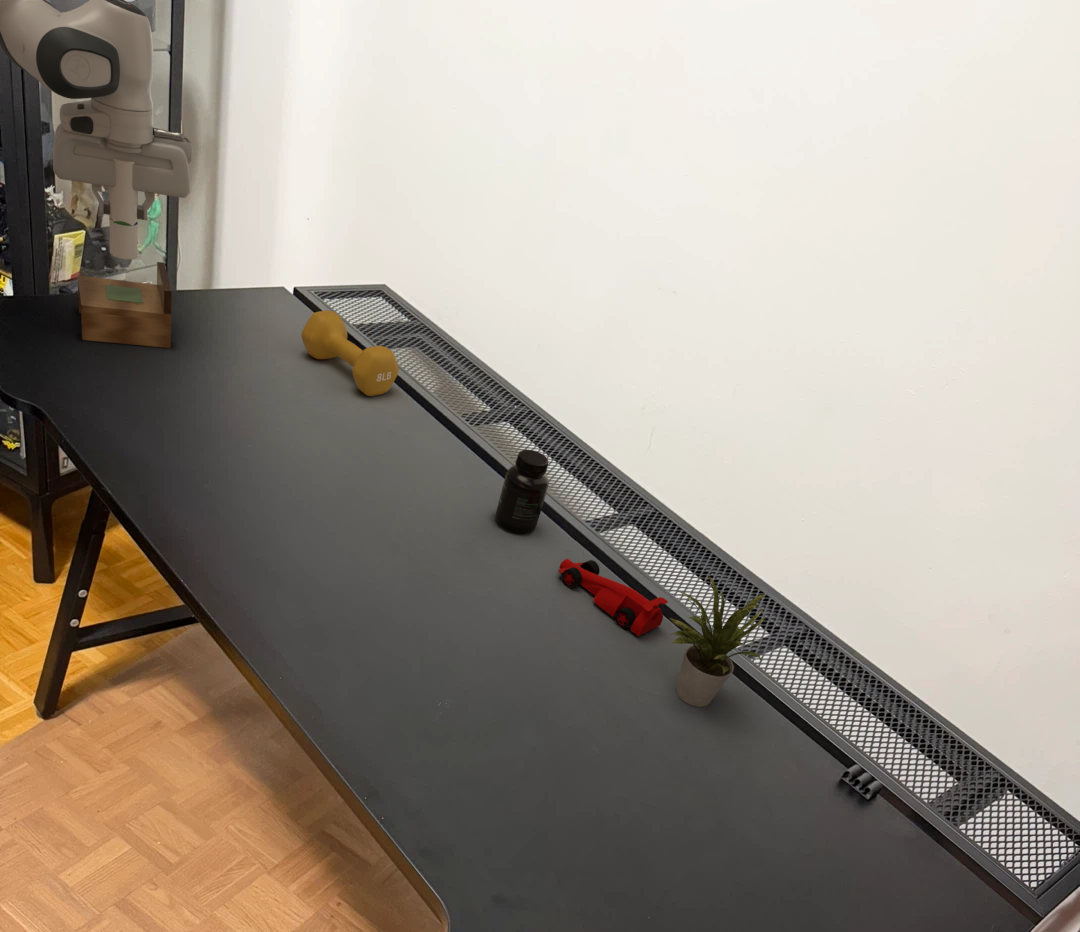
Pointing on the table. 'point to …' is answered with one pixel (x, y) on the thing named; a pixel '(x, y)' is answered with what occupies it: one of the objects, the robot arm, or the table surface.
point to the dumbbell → (350, 353)
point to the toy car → (614, 597)
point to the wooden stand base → (126, 310)
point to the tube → (123, 213)
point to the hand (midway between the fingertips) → (123, 216)
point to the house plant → (711, 650)
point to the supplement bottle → (523, 493)
